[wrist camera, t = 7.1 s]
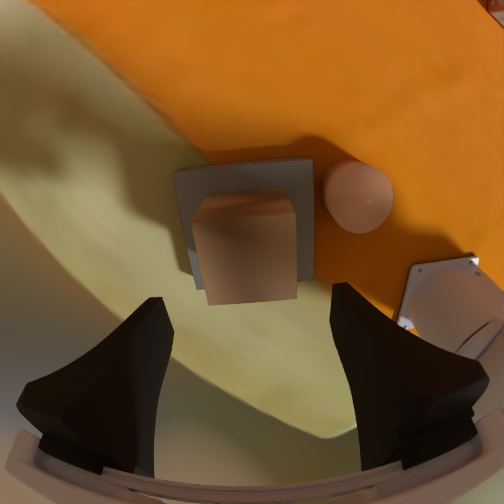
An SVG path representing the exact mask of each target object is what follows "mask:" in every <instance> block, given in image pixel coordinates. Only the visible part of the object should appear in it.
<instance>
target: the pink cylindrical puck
mask: <svg viewBox="0 0 504 504" xmlns="http://www.w3.org/2000/svg"><path fill="white" fill-rule="evenodd" d="M320 197H321V200H322V203H323V205H324V206H325V208H326V209H327V210H328V212H329V213H330V214H331V215H332V217H333V218H334V219H335V221H336V222H337V223H338V224H339V226H341V227H342V228H343V229H345V230H346V231H349V232H352V233H367V232H370V231H373V230H375V229H376V228H378V227H379V226H380V225H382V224H383V223H384V221H385V220H386V219H387V217H388V216H389V214H390V212H391V209H392V206H393V199H394V195H393V189H392V186H391V183H390V181H389V180H388V178H387V177H386V176H385V175H384V174H383V173H382V172H381V171H379V170H377V169H375V168H373V167H371V166H369V165H367V164H365V163H363V162H360V161H358V160H354V159H344V160H340V161H338V162H336V163H334V164H333V165H331V166H330V167H329V168H328V169H327V170H326V172H325V173H324V175H323V177H322V179H321V182H320Z"/></svg>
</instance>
